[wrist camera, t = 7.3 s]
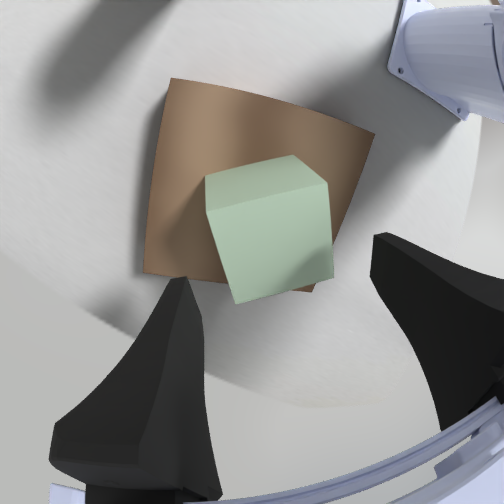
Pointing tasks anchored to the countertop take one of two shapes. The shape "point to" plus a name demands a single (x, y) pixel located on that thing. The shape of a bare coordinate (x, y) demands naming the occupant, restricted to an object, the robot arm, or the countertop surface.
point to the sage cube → (270, 226)
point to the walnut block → (234, 166)
